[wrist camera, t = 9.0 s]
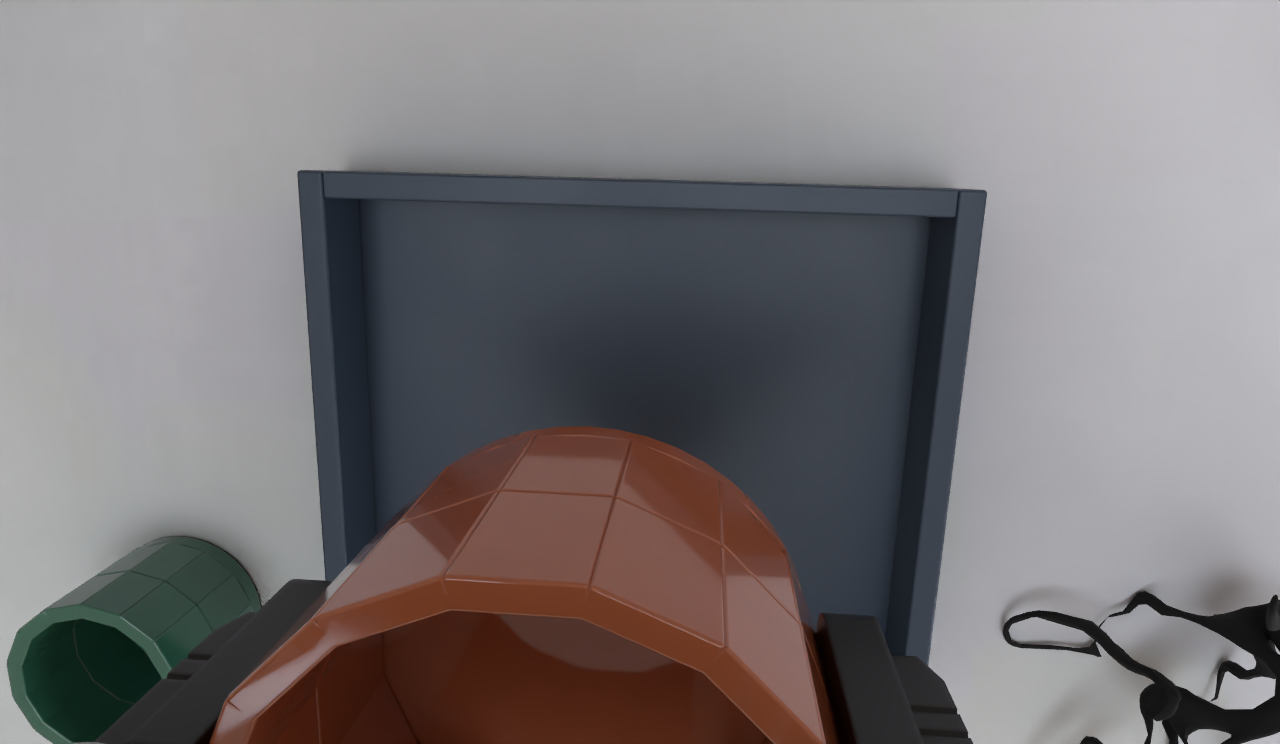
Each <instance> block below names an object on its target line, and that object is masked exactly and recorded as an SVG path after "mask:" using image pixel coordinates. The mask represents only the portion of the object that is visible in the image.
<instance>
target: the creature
mask: <svg viewBox="0 0 1280 744" xmlns="http://www.w3.org/2000/svg"><path fill="white" fill-rule="evenodd" d="M1141 604H1147V605H1149V606H1150V607H1152V608H1153V609H1154V610H1156V611H1157V612H1158V613H1160V614H1161V615H1166V616H1174V617H1182V618H1184V619H1187V620H1190V621H1193V622H1195V623H1198V624H1200V625H1202V626H1204V627H1206V628H1208V629H1210V630H1212V631H1214V632H1216V633H1218V634H1220V635H1222V636H1223V637H1225V638H1227V639H1228V640H1230V641H1232V642H1233V643H1235V644H1236V645H1238V646H1239V647H1241V648H1242V649H1244V650H1246V651H1247V652H1249V653H1251V654H1253V655H1254V658H1255V660H1256V667H1255V669H1251V670H1246V669H1244V668H1243V667H1241V666H1240V665H1238V664H1237V663H1235V662H1232V661H1226V662H1223V663H1222V664H1221V666H1220V668H1219V670H1218V673H1217V685H1216V692H1215V697H1214V698H1213V699H1212V700H1211V701H1214V700H1216V699H1217V698H1218V694H1219V690H1220V686H1221V683H1222V680H1223V677H1224V674H1225V672H1227V671H1229V672H1230V673H1232V674H1233V675H1235V676H1236V677H1237V678H1239V679H1247V680H1249V679H1252V678H1255V677H1261V676H1263V677H1269V678H1272V679H1276V686H1275V696H1274V697H1272V698H1270V699H1269V700H1267V701H1265V702H1264V703H1262V704H1261V705H1259V706H1257V707H1256V708H1254V709H1236V710H1225V709H1222V708H1220V707H1218V706H1216V705H1214V704H1212V703H1210V701H1209V702H1208V701H1206V700H1204V699H1202V698H1200V697H1198V696H1196V695H1194V694H1193V693H1191V692H1190V691H1188V690H1187V689H1184V688H1181V687H1178V686H1175V685H1174V683H1173V682H1172V681H1170V680H1169V679H1167V678H1166V677H1165V676H1164V675H1163V674H1161V673H1160V672H1158V671H1157V670H1154V669H1152V668H1149V667H1147V666H1144V665H1142V664H1140V663H1138V662H1136V661H1135V660H1133V659H1132V658H1131V657H1130V656H1129V655H1128V654H1127V653H1126V652H1125V651H1124V650H1123V649H1122V648H1121V647H1119V646H1118V645H1117V644H1115V643H1114V642H1113V641H1112V640H1111V639H1110V637H1109V636H1108V635H1107V634H1106V633H1105V632H1104V631H1103V630H1102V629H1100V627H1101V625H1102V624H1103V623H1104V621H1105V620H1106V619H1107V618H1106V619H1105V620H1104V621H1103V622H1102V623H1101V624H1100V625H1099V627H1098V626H1097V625H1096V624H1095V623H1094V622H1092V621H1089V620H1085V619H1081V618H1077V617H1073V616H1069V615H1065V614H1061V613H1057V612H1050V611H1032V612H1026V613H1023V614H1020V615H1017V616H1014V617H1012V618H1010V619H1009V620H1008V621H1007V622H1006V623H1005V625H1004V629H1003V635H1004V638H1005V640H1006V641H1007V643H1009V644H1010V645H1012V646H1015V647H1019V648H1033V649H1056V650H1070V651H1075V652H1081V653H1086V654H1091V655H1095V656H1097V657H1101V655H1100V652H1099V650H1098V648H1097V645H1096V642H1098V643H1099V644H1100V645H1101V646H1102V647H1103V648H1104V650H1105V651H1106V652H1107V653H1108V654H1109V655H1110V656H1112V657H1113V658H1114V659H1115V660H1116V661H1117V662H1118V663H1120V664H1121V665H1122V666H1124V667H1125V668H1127V669H1128V670H1130V671H1132V672H1135V673H1137V674H1140V675H1143V676H1146V677H1148V678H1150V679H1151V680H1152V681H1153V682H1154V684H1151V685H1149V686H1148V687H1146V688H1145V689H1144V690H1143V691H1142V693H1141V694H1140V709H1141V713H1142V715H1143V718H1144V720H1145V724H1146V728H1147V732H1148V736H1147V739H1146V741H1145V743H1144V744H1150V743H1151V737H1152V730H1153V719H1154V720H1156V721H1161V720H1163V721H1162V724H1163V727H1164V729H1165V731H1166V734H1167V736H1168V738H1169V744H1178V735H1179V737H1180V738H1181V740H1182V741H1183V743H1184V744H1188V742H1187V739H1188V735H1190V734H1191V733H1192V732H1194V731H1196V730H1198V729H1214V730H1219V731H1224V732H1227V733H1229V734H1231V738H1229V739H1227V740H1226V741H1224V742H1222V743H1221V744H1241V743H1245V742H1248V741H1251V740H1255V739H1259V738H1263V737H1266V736H1270V735H1273V734H1276V733H1278V732H1280V655H1279V654H1278V653H1277V652H1276V650H1275V646H1276V647H1277V648H1278V650H1279V651H1280V600H1278V596H1277V595H1274V596H1273V597H1272V599H1271V601H1270V603H1267V604H1263V605H1259V606H1252V607H1245V608H1242V609H1239V610H1236V611H1233V612H1229V613H1225V614H1219V615H1215V614H1214V616H1201V615H1195V614H1191V613H1187V612H1183V611H1181V610H1178V609H1175V608H1173V607H1170V606H1167V605H1166V604H1164V603H1163V602H1162V601H1161V600H1159V599H1158V598H1157V597H1155V596H1154V595H1152V594H1150V593H1148V592H1146V591H1144V592H1138V593H1137V594H1136V595H1135V596H1134V598H1133V599H1132V600H1131V602H1130V603H1129V604H1128V605H1127V607H1126V608H1125V609H1124V611H1122V612H1118V613H1114V614H1111V615H1109V616H1108V617H1113V616H1118V615H1123V614H1127V613H1130V612H1131V611H1132V610H1133V609H1134V608H1136V607H1137V606H1138V605H1141ZM1031 617H1038V618H1042V619H1045V620H1048V621H1052V622H1055V623H1059V624H1062V625H1065V626H1069V627H1072V628H1076V629H1079V630H1082V631H1084V632H1085V633H1086V634H1088V635H1089V636H1090V637H1091V638H1093V639H1094V640H1095V641H1094V642H1093V643H1092V644H1091V646H1090V647H1086V648H1072V647H1063V646H1054V645H1033V644H1019V643H1016V642H1014V641H1012V640H1011V637H1010V634H1009V631H1008V630H1009V628H1010V626H1011V625H1012V624H1013V623H1016V622H1019V621H1022V620H1025V619H1028V618H1031ZM1080 744H1103V743H1102V742H1101V741H1099V740H1098V739H1097V738H1095V737H1089V736H1086V737H1085V738H1084V739H1083V740H1082V741H1081V743H1080Z"/></svg>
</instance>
